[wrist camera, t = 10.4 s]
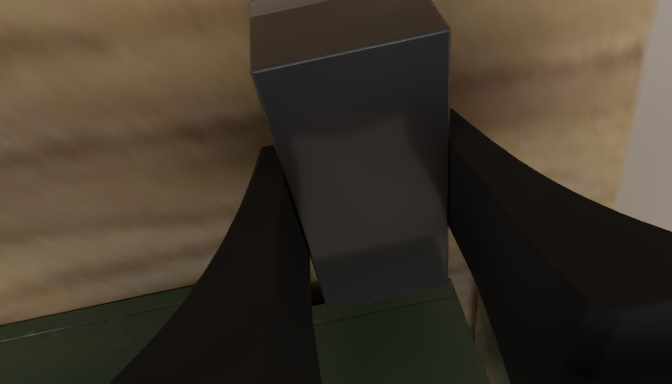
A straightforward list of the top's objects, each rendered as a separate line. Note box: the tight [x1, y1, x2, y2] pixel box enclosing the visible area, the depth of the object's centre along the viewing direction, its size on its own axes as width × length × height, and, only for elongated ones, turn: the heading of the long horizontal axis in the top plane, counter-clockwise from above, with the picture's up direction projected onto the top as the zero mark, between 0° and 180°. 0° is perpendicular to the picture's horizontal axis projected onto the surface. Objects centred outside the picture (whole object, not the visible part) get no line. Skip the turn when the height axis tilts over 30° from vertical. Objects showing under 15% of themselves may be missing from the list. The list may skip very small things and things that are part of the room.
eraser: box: [250, 0, 451, 310], centre depth 12 cm, size 8×4×3 cm, turn 9°
